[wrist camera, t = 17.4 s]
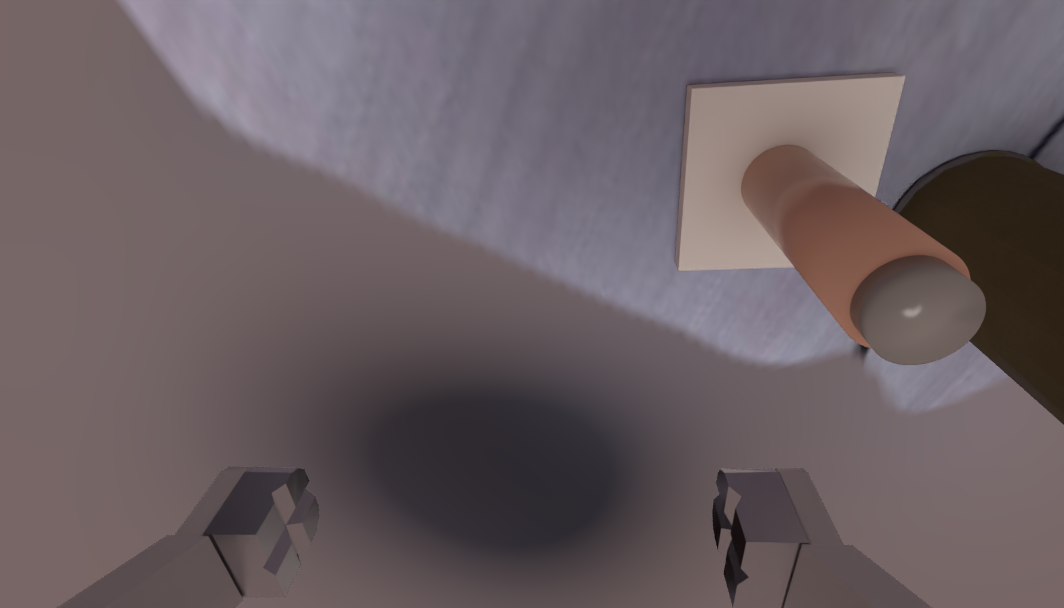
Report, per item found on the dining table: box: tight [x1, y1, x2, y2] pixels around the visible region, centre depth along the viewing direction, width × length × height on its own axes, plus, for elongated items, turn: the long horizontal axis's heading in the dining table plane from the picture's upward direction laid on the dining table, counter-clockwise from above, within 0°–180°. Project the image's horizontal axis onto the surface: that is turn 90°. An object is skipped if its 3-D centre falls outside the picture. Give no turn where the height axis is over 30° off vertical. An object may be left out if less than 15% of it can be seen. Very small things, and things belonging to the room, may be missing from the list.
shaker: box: [741, 145, 986, 365], centre depth 28 cm, size 5×5×17 cm
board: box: [675, 73, 906, 271], centre depth 35 cm, size 12×12×2 cm
